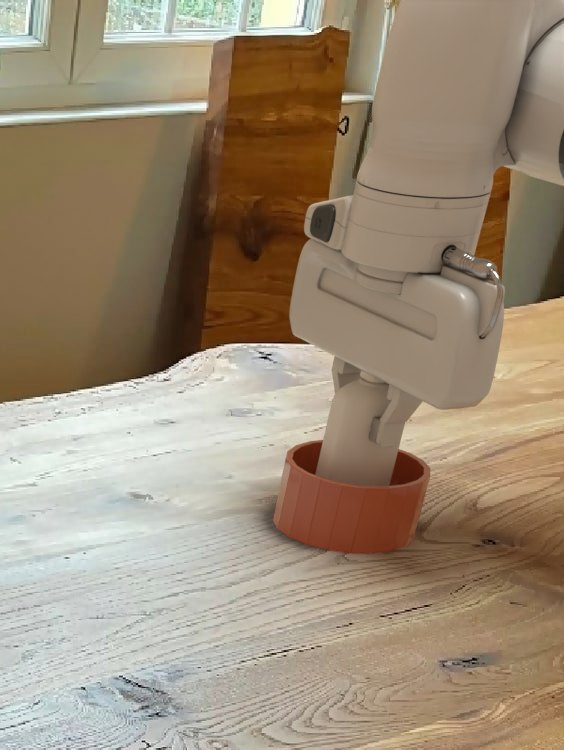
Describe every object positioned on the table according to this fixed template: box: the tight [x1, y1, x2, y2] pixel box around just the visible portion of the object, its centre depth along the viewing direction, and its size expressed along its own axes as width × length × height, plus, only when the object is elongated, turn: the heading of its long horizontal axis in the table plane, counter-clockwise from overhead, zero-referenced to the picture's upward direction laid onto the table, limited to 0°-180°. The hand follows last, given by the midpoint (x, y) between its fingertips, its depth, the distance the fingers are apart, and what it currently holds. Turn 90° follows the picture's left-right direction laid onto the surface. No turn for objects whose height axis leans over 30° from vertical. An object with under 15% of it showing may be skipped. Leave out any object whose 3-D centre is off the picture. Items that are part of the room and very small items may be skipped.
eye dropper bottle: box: [315, 370, 405, 486], centre depth 109 cm, size 4×6×12 cm
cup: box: [272, 439, 431, 555], centre depth 114 cm, size 11×11×6 cm
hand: (364, 433), depth 110 cm, fingers closed on eye dropper bottle, 3 cm apart
